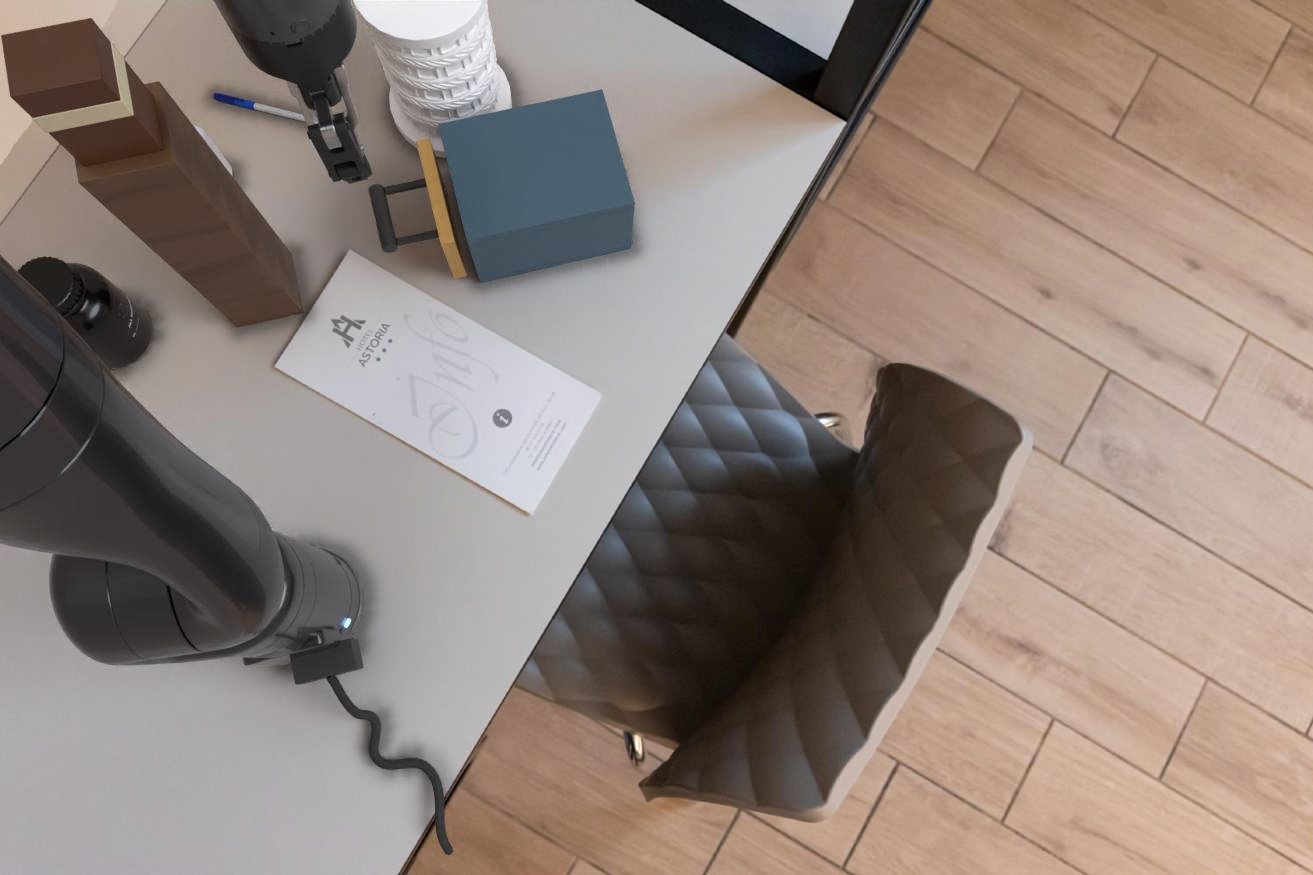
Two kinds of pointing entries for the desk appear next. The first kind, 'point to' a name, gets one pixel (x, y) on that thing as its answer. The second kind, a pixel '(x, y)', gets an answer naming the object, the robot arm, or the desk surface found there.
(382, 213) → the drawer
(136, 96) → the chocolate carton
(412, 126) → the decorative container
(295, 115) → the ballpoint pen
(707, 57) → the desk surface
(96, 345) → the supplement bottle
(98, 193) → the riser
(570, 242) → the cabinet
